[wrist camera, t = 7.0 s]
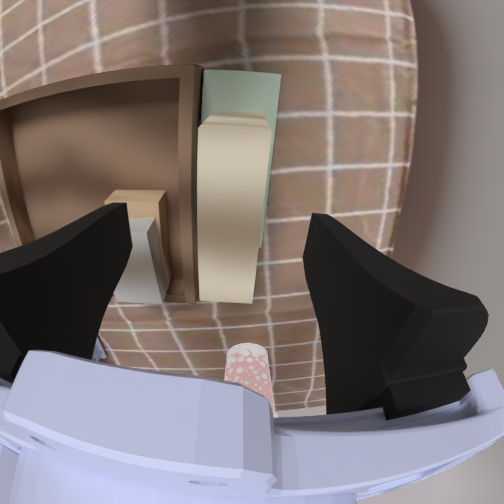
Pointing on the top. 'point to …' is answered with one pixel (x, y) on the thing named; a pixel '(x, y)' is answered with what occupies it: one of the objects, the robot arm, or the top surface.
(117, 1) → the top surface
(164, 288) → the offcut upper
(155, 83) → the crate
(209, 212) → the cream chamfered post
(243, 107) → the mat
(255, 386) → the beverage cup
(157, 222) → the offcut lower
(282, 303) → the top surface
